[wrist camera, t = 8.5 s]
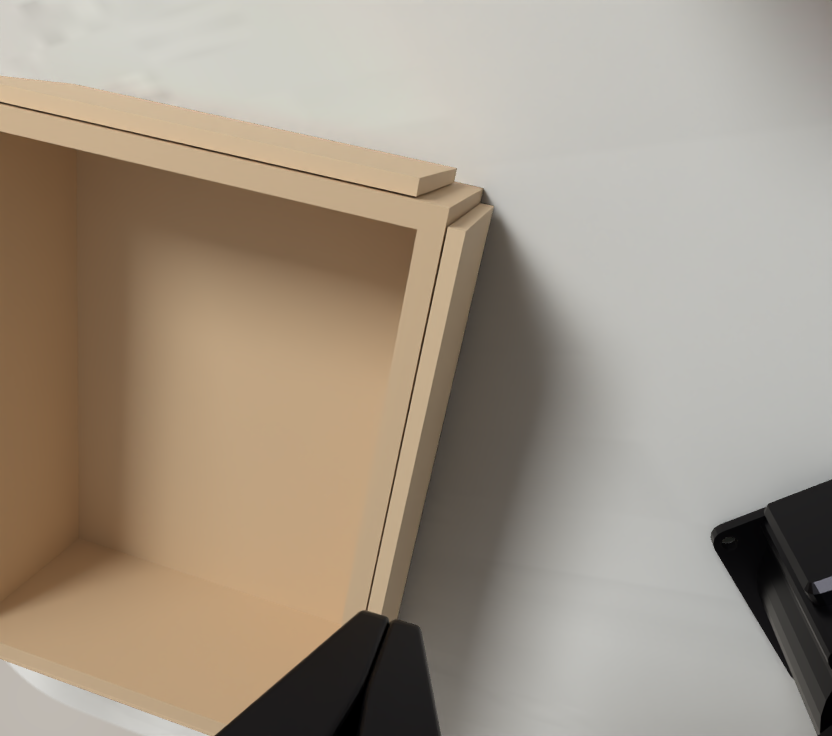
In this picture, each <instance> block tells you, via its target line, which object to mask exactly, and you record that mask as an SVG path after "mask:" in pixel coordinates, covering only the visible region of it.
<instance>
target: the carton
mask: <svg viewBox="0 0 832 736" xmlns="http://www.w3.org/2000/svg"><path fill="white" fill-rule="evenodd" d="M456 170H457V168H453V167H449V166H444V165H440V164H435V163H431V162H426V161H421V160H417V159H412V158H408V157H403V156H399V155H394V154H390V153H385V152H381V151H376V150H372V149H367V148H362V147H358V146H353V145H349V144H344V143H340V142H335V141H331V140H326V139H322V138H317V137H312V136H308V135H303V134H299V133H294V132H290V131H285V130H281V129H276V128H272V127H267V126H262V125H258V124H253V123H249V122H244V121H240V120H235V119H231V118H226V117H222V116H217V115H213V114H208V113H203V112H199V111H194V110H190V109H185V108H181V107H176V106H172V105H167V104H163V103H158V102H153V101H149V100H144V99H140V98H135V97H131V96H126V95H122V94H117V93H113V92H108V91H103V90H99V89H94V88H90V87H85V86H81V85H76V84H68V83H59V82H51V81H42V80H33V79H24V78H15V77H6V76H0V659H2V660H5V661H7V662H10V663H13V664H16V665H18V666H21V667H24V668H27V669H29V670H32V671H35V672H38V673H40V674H43V675H46V676H48V677H51V678H54V679H57V680H59V681H62V682H65V683H68V684H70V685H73V686H76V687H79V688H81V689H84V690H87V691H89V692H92V693H95V694H98V695H100V696H103V697H106V698H109V699H111V700H114V701H117V702H119V703H122V704H125V705H128V706H130V707H133V708H136V709H139V710H141V711H144V712H147V713H150V714H152V715H155V716H158V717H160V718H163V719H166V720H169V721H171V722H174V723H177V724H180V725H182V726H185V727H188V728H191V729H193V730H196V731H199V732H201V733H204V734H207V735H210V736H215V735H216V734H217V733H218V732H219V731H220V730H222V729H223V728H224V727H225V726H226V725H227V724H229V723H230V722H231V721H232V720H233V719H234V718H236V717H237V716H238V715H239V714H240V713H241V712H243V711H244V710H245V709H246V708H247V707H248V706H250V705H251V704H252V703H253V702H254V701H255V700H257V699H258V698H259V697H260V696H261V695H262V694H264V693H265V692H266V691H267V690H268V689H269V688H271V687H272V686H273V685H274V684H275V683H276V682H278V681H279V680H280V679H281V678H282V677H283V676H285V675H286V674H287V673H288V672H289V671H290V670H292V669H293V668H294V667H295V666H296V665H297V664H299V663H300V662H301V661H302V660H303V659H304V658H306V657H307V656H308V655H309V654H310V653H311V652H313V651H314V650H315V649H316V648H317V647H318V646H320V645H321V644H322V643H323V642H324V641H325V640H327V639H328V638H329V637H330V636H331V635H332V634H333V633H335V632H336V631H337V630H338V629H339V628H340V627H342V626H343V625H344V624H345V623H346V622H347V621H349V620H350V619H351V618H352V617H353V616H354V615H356V614H357V613H358V612H359V611H362V610H367V611H370V612H374V613H377V614H380V615H384V616H386V617H388V619H389V622H391V621H392V620H393V619H397V618H398V614H399V609H400V605H401V601H402V597H403V592H404V588H405V584H406V579H407V575H408V571H409V567H410V562H411V558H412V554H413V550H414V545H415V541H416V537H417V532H418V528H419V524H420V520H421V515H422V511H423V507H424V503H425V498H426V494H427V490H428V485H429V481H430V477H431V473H432V468H433V464H434V460H435V456H436V451H437V447H438V443H439V438H440V434H441V430H442V426H443V421H444V417H445V413H446V409H447V404H448V400H449V396H450V391H451V387H452V383H453V379H454V374H455V370H456V366H457V362H458V357H459V353H460V349H461V344H462V340H463V336H464V332H465V327H466V323H467V319H468V315H469V310H470V306H471V302H472V297H473V293H474V289H475V285H476V280H477V276H478V272H479V267H480V263H481V259H482V255H483V250H484V246H485V242H486V238H487V233H488V229H489V225H490V220H491V216H492V212H493V208H494V206H490V205H486V204H482V203H481V198H482V194H483V189H484V188H480V187H476V186H471V185H467V184H462V183H458V182H454V180H455V175H456Z"/></svg>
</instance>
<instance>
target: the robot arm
mask: <svg viewBox="0 0 832 736" xmlns="http://www.w3.org/2000/svg"><path fill="white" fill-rule="evenodd" d="M726 537H733V538H735V540H734V541H733V542H731V543H723V542H722V540H723V539H725V538H726ZM711 540H712V543H713V546H714V549H715V551H716V552H717V554H718V556H719V557H720V559H721V561H722V562H723V564H724V566H725V567H726V569H727V571H728V572H729V574H730V576H731V577H732V579H733V581H734V582H735V584H736V586H737V587H738V589H739V591H740V592H741V594H742V596H743V597H744V599H745V601H746V602H747V604H748V606H749V607H750V609H751V611H752V612H753V614H754V616H755V617H756V619H757V621H758V622H759V624H760V626H761V627H762V629H763V631H764V632H765V634H766V636H767V637H768V639H769V641H770V642H771V644H772V646H773V647H774V649H775V651H776V652H777V654H778V656H779V657H780V659H781V661H782V662H783V664H784V666H785V667H786V669H787V671H788V672H789V674H790V676H791V677H792V678H793V679H794V680H795V683H796V685H797V688H798V690H799V692H800V695H801V697H802V699H803V702H804V704H805V707H806V709H807V711H808V714H809V716H810V719H811V721H812V723H813V726H814V728H815V731H816V733H817V735H818V736H832V480H829V481H827V482H824V483H821V484H819V485H816V486H813V487H811V488H808V489H806V490H803V491H800V492H798V493H795V494H793V495H790V496H787V497H785V498H782V499H780V500H777V501H774V502H772V503H769V504H768V505H767V507H765V508H762V509H760V510H757V511H754V512H752V513H749V514H746V515H744V516H741V517H739V518H736V519H733V520H731V521H728V522H725V523H723V524H720V525H719V526H717V527H715V528H714V529H713V531H712V532H711ZM215 736H441V732H440V727H439V722H438V716H437V711H436V706H435V700H434V695H433V690H432V685H431V679H430V674H429V669H428V664H427V658H426V653H425V648H424V642H423V637H422V632H421V629H420V628H419V626H417V625H414V624H411V623H408V622H404V621H401V620H397V619H393V620H392V621H391V622H389V619H388V617H386V616H384V615H380V614H377V613H374V612H370V611H367V610H362V611H359V612H358V613H357V614H356V615H354V616H353V617H352V618H351V619H350V620H349V621H347V622H346V623H345V624H344V625H343V626H342V627H340V628H339V629H338V630H337V631H336V632H335V633H333V634H332V635H331V636H330V637H329V638H328V639H327V640H325V641H324V642H323V643H322V644H321V645H320V646H318V647H317V648H316V649H315V650H314V651H313V652H311V653H310V654H309V655H308V656H307V657H306V658H304V659H303V660H302V661H301V662H300V663H299V664H297V665H296V666H295V667H294V668H293V669H292V670H290V671H289V672H288V673H287V674H286V675H285V676H283V677H282V678H281V679H280V680H279V681H278V682H276V683H275V684H274V685H273V686H272V687H271V688H269V689H268V690H267V691H266V692H265V693H264V694H262V695H261V696H260V697H259V698H258V699H257V700H255V701H254V702H253V703H252V704H251V705H250V706H248V707H247V708H246V709H245V710H244V711H243V712H241V713H240V714H239V715H238V716H237V717H236V718H234V719H233V720H232V721H231V722H230V723H229V724H227V725H226V726H225V727H224V728H223V729H222V730H220V731H219V732H218V733H217V734H216V735H215Z"/></svg>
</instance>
